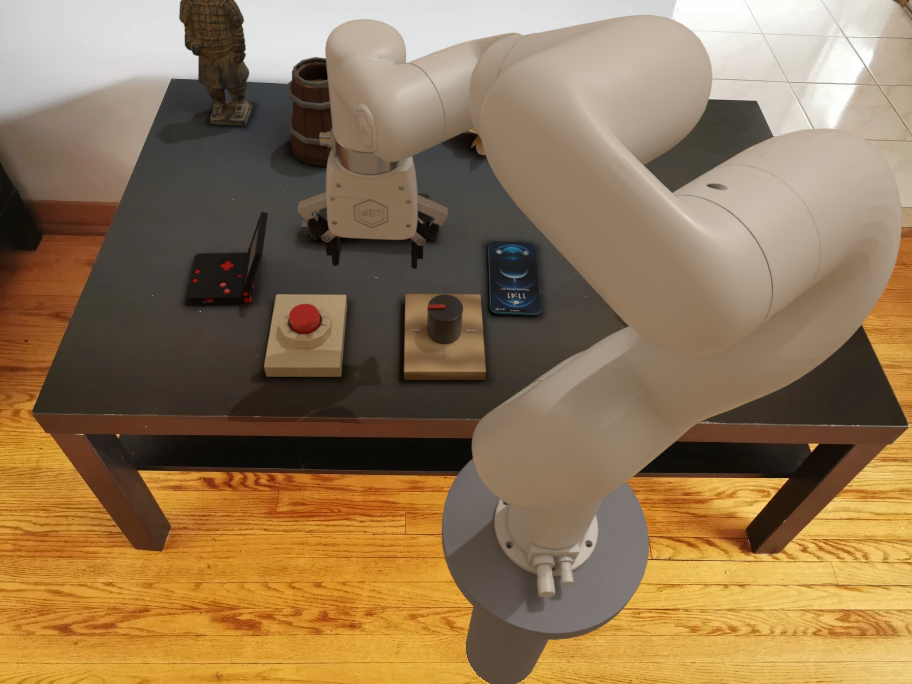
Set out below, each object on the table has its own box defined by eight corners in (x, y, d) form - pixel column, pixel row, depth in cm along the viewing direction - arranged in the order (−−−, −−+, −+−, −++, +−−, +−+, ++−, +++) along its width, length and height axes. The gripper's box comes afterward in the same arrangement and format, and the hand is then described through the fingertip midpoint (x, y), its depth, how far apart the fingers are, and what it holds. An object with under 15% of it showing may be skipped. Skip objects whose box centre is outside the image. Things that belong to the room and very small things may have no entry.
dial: (460, 317, 100) (462, 292, 96) (462, 344, 97) (464, 319, 93) (426, 317, 100) (427, 292, 96) (427, 344, 97) (428, 319, 93)
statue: (199, 124, 128) (151, -49, 105) (210, 100, 133) (166, -71, 109) (256, 128, 128) (221, -45, 105) (265, 104, 133) (233, -67, 110)
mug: (350, 170, 122) (344, 93, 111) (282, 162, 123) (268, 84, 111) (369, 118, 132) (365, 42, 120) (306, 110, 133) (296, 34, 121)
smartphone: (535, 242, 113) (542, 313, 103) (535, 245, 113) (541, 316, 104) (487, 240, 112) (490, 311, 103) (487, 243, 113) (489, 314, 103)
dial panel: (484, 380, 96) (486, 371, 95) (404, 380, 96) (403, 370, 94) (479, 303, 105) (480, 293, 103) (405, 302, 104) (405, 292, 103)
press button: (319, 334, 95) (317, 326, 94) (289, 334, 95) (287, 325, 94) (321, 311, 98) (320, 303, 96) (292, 311, 97) (290, 303, 96)
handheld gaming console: (197, 259, 108) (180, 209, 100) (278, 257, 109) (267, 207, 101) (187, 305, 102) (168, 256, 94) (273, 303, 103) (261, 254, 95)
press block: (341, 377, 95) (338, 359, 92) (266, 376, 95) (261, 359, 92) (347, 304, 103) (345, 286, 100) (278, 304, 103) (274, 285, 100)
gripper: (281, 164, 71) (301, 279, 85) (452, 171, 72) (445, 284, 86) (292, 119, 76) (309, 235, 89) (452, 127, 77) (445, 240, 90)
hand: (375, 259), depth 88 cm, fingers open, 9 cm apart
